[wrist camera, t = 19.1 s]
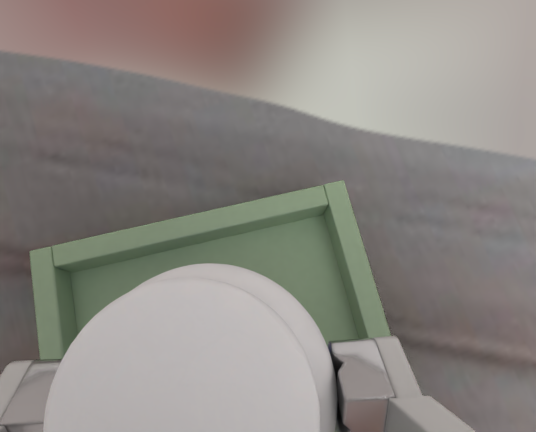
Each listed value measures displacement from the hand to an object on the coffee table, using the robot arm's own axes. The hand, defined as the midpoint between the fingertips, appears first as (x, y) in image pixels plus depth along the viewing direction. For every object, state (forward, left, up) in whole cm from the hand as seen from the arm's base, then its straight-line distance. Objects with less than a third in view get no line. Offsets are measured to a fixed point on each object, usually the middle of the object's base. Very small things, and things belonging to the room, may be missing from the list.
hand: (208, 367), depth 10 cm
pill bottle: (0, -1, -6) cm, 6 cm away
